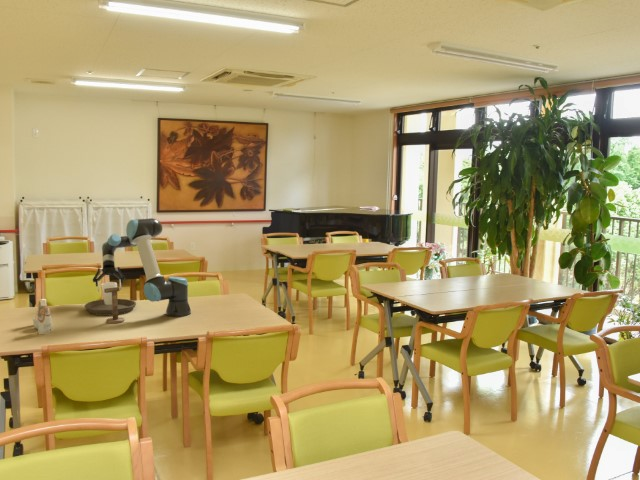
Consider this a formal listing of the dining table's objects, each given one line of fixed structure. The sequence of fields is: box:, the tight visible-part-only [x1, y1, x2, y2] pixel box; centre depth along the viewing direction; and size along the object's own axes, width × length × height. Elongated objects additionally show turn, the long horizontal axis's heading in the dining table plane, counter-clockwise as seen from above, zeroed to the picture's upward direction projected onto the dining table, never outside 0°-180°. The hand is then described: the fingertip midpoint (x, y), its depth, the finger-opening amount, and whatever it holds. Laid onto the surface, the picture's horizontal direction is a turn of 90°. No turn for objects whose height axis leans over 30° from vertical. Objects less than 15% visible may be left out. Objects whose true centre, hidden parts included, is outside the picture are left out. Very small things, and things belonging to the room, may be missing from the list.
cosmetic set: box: [32, 298, 52, 335], centre depth 330 cm, size 25×9×19 cm, turn 32°
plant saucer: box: [84, 298, 137, 316], centre depth 374 cm, size 31×31×5 cm
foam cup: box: [100, 281, 118, 305], centre depth 373 cm, size 10×9×13 cm
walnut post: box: [104, 286, 125, 325], centre depth 347 cm, size 10×10×20 cm
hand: (109, 289), depth 383 cm, fingers open, 13 cm apart
